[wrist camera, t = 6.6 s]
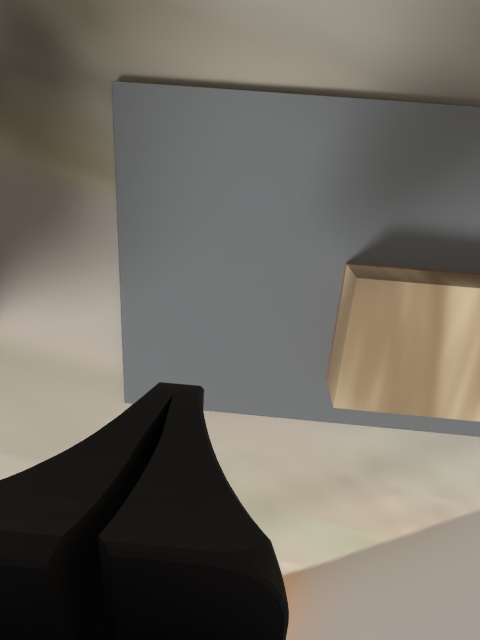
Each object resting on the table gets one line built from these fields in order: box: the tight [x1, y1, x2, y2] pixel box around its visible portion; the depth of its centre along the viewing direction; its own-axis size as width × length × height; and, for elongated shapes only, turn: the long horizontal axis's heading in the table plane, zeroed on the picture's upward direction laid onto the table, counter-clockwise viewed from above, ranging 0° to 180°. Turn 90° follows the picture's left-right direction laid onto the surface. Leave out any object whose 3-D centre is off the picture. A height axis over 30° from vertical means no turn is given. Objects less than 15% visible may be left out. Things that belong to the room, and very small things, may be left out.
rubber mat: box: [112, 81, 480, 437], centre depth 19 cm, size 20×15×1 cm
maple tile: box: [326, 263, 480, 422], centre depth 18 cm, size 2×6×8 cm
